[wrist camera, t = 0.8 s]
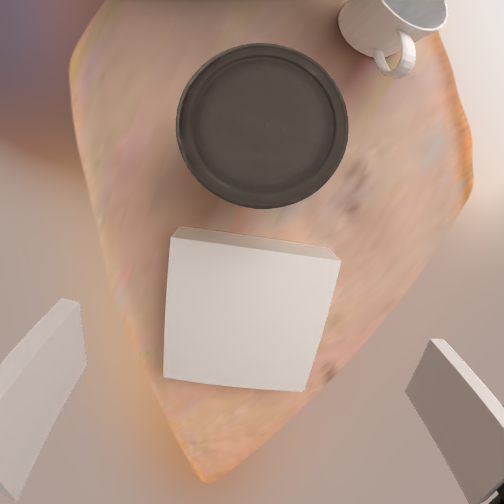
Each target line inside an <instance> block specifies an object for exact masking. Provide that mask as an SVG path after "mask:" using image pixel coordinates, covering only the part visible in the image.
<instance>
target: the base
mask: <svg viewBox="0 0 504 504" xmlns="http://www.w3.org/2000/svg"><path fill="white" fill-rule="evenodd" d="M340 265H341V260H340V259H339V258H338V257H337V256H336V255H335V254H334V253H333V252H332V251H331V250H330V249H329V248H328V247H325V246H318V245H311V244H305V243H298V242H291V241H285V240H278V239H271V238H264V237H257V236H250V235H243V234H236V233H229V232H222V231H215V230H208V229H200V228H193V227H186V226H179V227H178V229H177V230H176V231H175V232H174V234H173V235H172V236H171V240H170V251H169V263H168V276H167V291H166V308H165V329H164V361H163V377H164V378H170V379H176V380H183V381H190V382H197V383H204V384H212V385H221V386H230V387H240V388H251V389H265V390H281V391H303V392H304V390H305V387H306V384H307V381H308V378H309V375H310V371H311V368H312V365H313V362H314V359H315V356H316V352H317V349H318V346H319V343H320V339H321V336H322V332H323V329H324V326H325V322H326V319H327V315H328V311H329V308H330V304H331V300H332V297H333V293H334V289H335V285H336V281H337V278H338V274H339V270H340Z"/></svg>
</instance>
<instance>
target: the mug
mask: <svg viewBox="0 0 504 504" xmlns="http://www.w3.org/2000/svg"><path fill="white" fill-rule="evenodd" d="M447 19H448V9H447V4H446V1H445V0H348V1H347V2H346V4H345V5H344V6H343V8H342V9H341V10H340V13H339V16H338V23H339V28H340V31H341V34H342V35H343V37H344V38H345V40H346V41H347V42H348V43H349V44H350V45H351V46H352V47H353V48H354V49H356V50H357V51H358V52H360V53H362V54H364V55H367V56H370V57H374V60H375V63H376V65H377V67H378V69H379V70H380V71H381V72H382V73H383V74H384V75H386V76H389V77H392V78H402V77H405V76H407V75H408V74H409V73H410V71H411V70H412V68H413V66H414V63H415V58H416V51H415V45H414V42H416V41H418V40H420V39H422V38H424V37H425V36H427V35H429V34H431V33H433V32H435V31H437V30H439V29H440V28H442V27H443V26H444V25H445V23H446V21H447ZM400 50H402V54H401V59H400V61H399V64H398V65H397V67H396V68H395V69H394V70H392V71H391V70H390V69H389V67H388V65H387V63H386V60H385V57H388V56H391V55H393V54H394V53H396V52H398V51H400Z"/></svg>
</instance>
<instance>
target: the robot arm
mask: <svg viewBox="0 0 504 504" xmlns="http://www.w3.org/2000/svg"><path fill="white" fill-rule="evenodd" d="M86 366H87V359H86V352H85V344H84V337H83V329H82V321H81V311H80V302H78V301H73V300H68V299H64V298H61V299H60V300H59V301H58V302H57V303H56V304H55V305H54V306H53V307H52V308H51V309H50V310H49V311H48V312H47V313H46V314H45V315H44V316H43V318H41V319H40V321H39V322H38V323H37V324H36V325H35V326H34V327H33V328H32V329H31V330H30V331H29V332H28V333H27V334H26V335H25V337H24V338H23V339H22V340H21V341H20V342H19V343H18V344H17V345H16V346H15V347H14V349H13V350H12V351H11V352H10V353H9V354H8V355H7V357H6V358H5V359H4V360H3V361H2V362H1V363H0V493H1V494H4V495H5V496H7V497H9V498H11V499H13V500H15V501H18V499H19V496H20V494H21V492H22V489H23V487H24V485H25V483H26V480H27V478H28V476H29V474H30V472H31V469H32V467H33V465H34V463H35V461H36V459H37V457H38V455H39V453H40V451H41V449H42V447H43V445H44V443H45V441H46V439H47V437H48V435H49V433H50V431H51V429H52V427H53V425H54V423H55V421H56V420H57V418H58V416H59V413H60V412H61V410H62V408H63V406H64V405H65V403H66V401H67V399H68V397H69V396H70V394H71V392H72V390H73V388H74V387H75V385H76V383H77V381H78V379H79V378H80V376H81V374H82V373H83V371H84V369H85V367H86ZM405 392H406V394H407V395H408V397H409V399H410V400H411V402H412V404H413V405H414V407H415V408H416V410H417V412H418V414H419V415H420V417H421V418H422V420H423V422H424V424H425V425H426V427H427V429H428V430H429V432H430V434H431V436H432V437H433V439H434V441H435V442H436V444H437V446H438V448H439V449H440V451H441V453H442V455H443V457H444V458H445V460H446V462H447V464H448V465H449V467H450V469H451V471H452V473H453V474H454V476H455V478H456V480H457V482H458V484H459V485H460V487H461V489H462V491H463V493H464V495H465V497H466V499H467V500H468V502H469V504H480V503H482V502H484V501H486V500H487V499H488V498H489V497H490V496H491V495H492V494H493V493H494V492H495V491H496V490H497V491H498V493H499V494H498V495H497V496H496V497H495V498H494V499H493V500H492V501H491V502H490V503H489V504H504V406H503V405H502V404H501V403H500V402H499V401H498V400H497V399H496V398H495V396H494V395H493V394H492V393H491V392H490V390H489V389H488V388H487V387H486V386H485V385H484V384H483V382H482V381H481V380H480V379H479V378H478V377H477V375H476V374H475V373H474V372H473V371H472V370H471V369H470V368H469V367H468V365H467V364H466V363H465V362H464V361H463V360H462V359H461V358H460V356H459V355H458V354H456V352H455V351H454V350H453V349H452V348H451V347H450V346H449V345H448V344H447V342H446V341H445V340H444V339H430V340H429V342H428V345H427V347H426V349H425V351H424V354H423V356H422V358H421V360H420V362H419V364H418V366H417V368H416V370H415V372H414V374H413V376H412V378H411V380H410V382H409V384H408V386H407V388H406V390H405Z"/></svg>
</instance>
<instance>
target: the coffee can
mask: <svg viewBox="0 0 504 504" xmlns="http://www.w3.org/2000/svg"><path fill="white" fill-rule="evenodd" d="M176 135H177V141H178V145H179V148H180V151H181V154H182V157H183V159H184V161H185V163H186V165H187V167H188V168H189V170H190V171H191V172H192V174H193V175H194V176H195V177H196V179H197V180H198V181H199V182H200V183H201V184H202V185H203V186H205V187H206V188H207V189H208V190H209V191H211V192H212V193H214V194H215V195H217V196H219V197H220V198H222V199H224V200H226V201H228V202H231V203H234V204H237V205H239V206H244V207H249V208H255V209H271V208H278V207H283V206H287V205H291V204H294V203H296V202H299V201H302V200H303V199H305V198H307V197H309V196H310V195H312V194H313V193H315V192H316V191H318V190H319V189H320V188H321V187H322V186H323V185H324V184H325V183H326V182H327V181H328V180H329V179H330V177H331V176H332V175H333V174H334V172H335V171H336V169H337V167H338V166H339V164H340V162H341V160H342V158H343V155H344V152H345V149H346V145H347V140H348V116H347V110H346V106H345V103H344V100H343V97H342V95H341V93H340V91H339V89H338V87H337V85H336V83H335V82H334V81H333V79H332V78H331V77H330V75H329V74H328V73H327V72H326V71H325V70H324V69H323V68H322V67H321V66H320V65H319V64H318V63H316V62H315V61H314V60H312V59H311V58H309V57H308V56H306V55H304V54H302V53H300V52H298V51H296V50H294V49H291V48H288V47H285V46H280V45H276V44H265V43H256V44H247V45H241V46H238V47H234V48H231V49H228V50H226V51H224V52H222V53H220V54H218V55H216V56H215V57H213V58H211V59H210V60H209V61H207V62H206V63H205V64H204V65H202V67H201V68H200V69H199V70H198V71H197V72H196V73H195V74H194V75H193V76H192V78H191V79H190V81H189V82H188V84H187V85H186V87H185V89H184V91H183V93H182V96H181V98H180V102H179V105H178V109H177V116H176Z"/></svg>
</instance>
